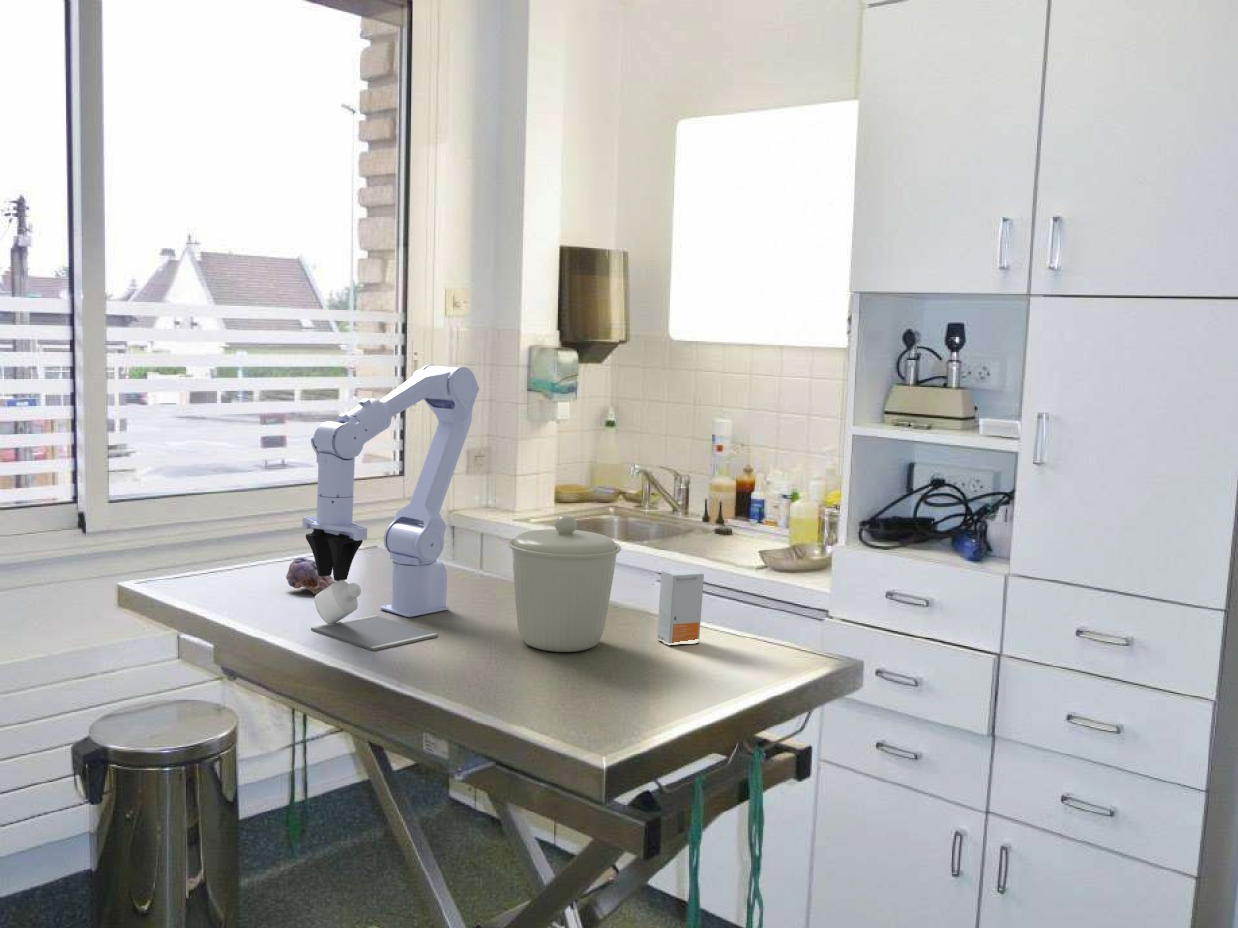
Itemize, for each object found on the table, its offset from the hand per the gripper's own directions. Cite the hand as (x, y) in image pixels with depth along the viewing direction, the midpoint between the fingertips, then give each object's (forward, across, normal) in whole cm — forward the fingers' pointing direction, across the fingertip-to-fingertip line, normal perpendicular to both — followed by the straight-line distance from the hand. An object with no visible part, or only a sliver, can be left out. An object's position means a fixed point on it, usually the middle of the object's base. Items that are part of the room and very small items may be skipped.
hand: (332, 577), depth 182 cm
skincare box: (+8, +44, +37) cm, 58 cm away
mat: (+8, +8, +3) cm, 12 cm away
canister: (+8, +32, +21) cm, 39 cm away
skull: (+8, -22, +13) cm, 27 cm away
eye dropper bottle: (+6, -3, +1) cm, 7 cm away
